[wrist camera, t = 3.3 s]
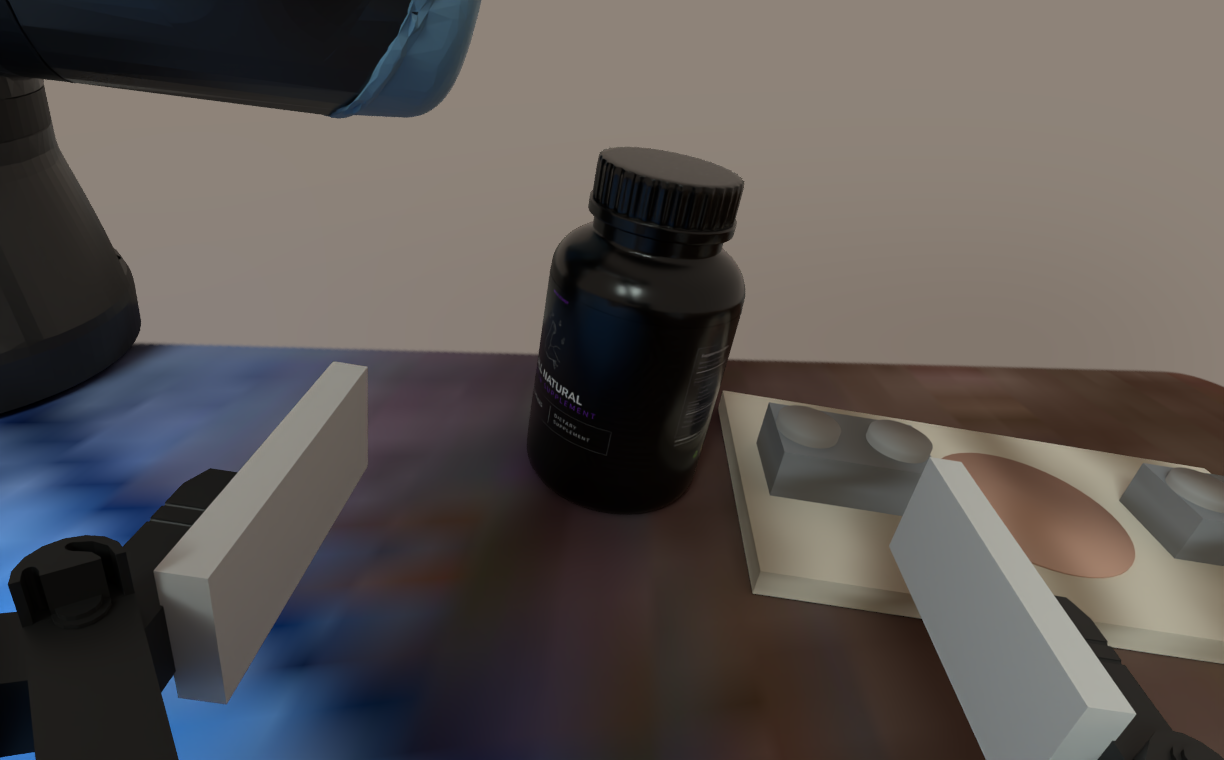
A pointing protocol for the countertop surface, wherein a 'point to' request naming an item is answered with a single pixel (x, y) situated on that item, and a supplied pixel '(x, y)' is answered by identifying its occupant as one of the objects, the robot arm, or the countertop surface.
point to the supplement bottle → (637, 332)
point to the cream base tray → (1019, 493)
